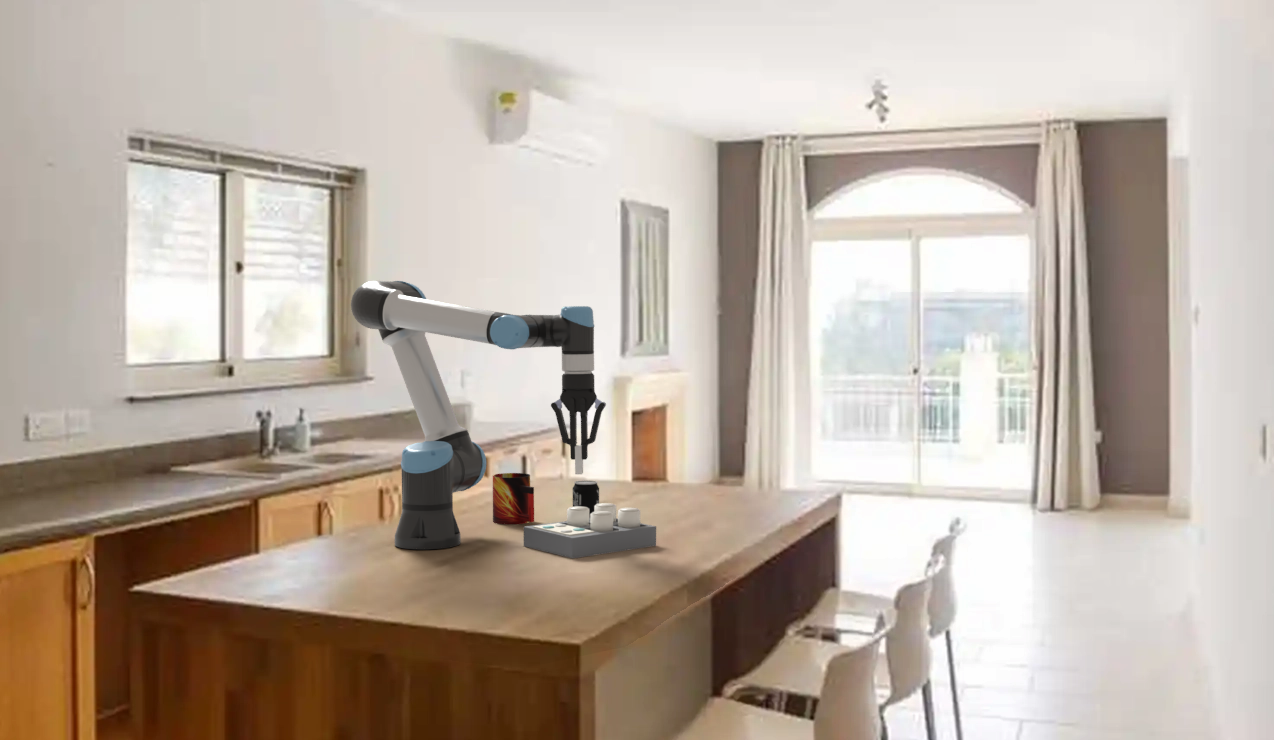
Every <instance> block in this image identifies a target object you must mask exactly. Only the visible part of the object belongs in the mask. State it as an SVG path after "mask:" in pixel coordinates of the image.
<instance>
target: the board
mask: <svg viewBox="0 0 1274 740" xmlns="http://www.w3.org/2000/svg"><path fill="white" fill-rule="evenodd" d="M656 546H657V526H656V525H651V524H647V523H641V522H640V527H635V528H628V529H627V528H622V527H618V517H616V522H613V531H606V532H595V531H591V530H590V518H589V525H588V526H581V527H573V526H569V525H567V520H566V521H564V520H563V521H557V522H551V523H549V522H548V523H540V524H534V525H526V526H523V547H525V548H530V549H533V550H538V551H540V552H541V551H542V552H544V553H546V552H547V553H550V554H553V555H558V556H561V557H565V558H569V559H578V558H585V557H590V556H591V557H592V556H598V555H605V554H611V553H616V552H623V551H629V550H637V549H645V548H649V547H656Z"/></svg>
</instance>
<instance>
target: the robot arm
mask: <svg viewBox="0 0 1274 740" xmlns="http://www.w3.org/2000/svg"><path fill="white" fill-rule="evenodd" d="M350 301H351V302H350V308H351V310H350V311H351V313H352V316H353V317H354V319H355V321H357V322H358V323H359V324H360V325H361V326H363V327H365V328H367V329H371V330H378V332H379V334H380V337H381V340H382V342H383V343H384V344H385V345H388V346H390V347H391V348H392V352H393V355H394V357H395V360H396V363H397V365H398V367H399V371H400V374H401V375H402V379H403V382H404V384H405V386H406V390H407V392H408V394H409V397H410V400H411V402H412V405H413V408H414V410H415V413H416V417H417V418H418V422H419V424H420V426H421V430H422V432H423V434H424V435H423V436H424V440H423V441H422V442H415V443H412V444H409V445H407V446H406V447H404V448H403V450H402V452H401V461H400V468H401V515H400V518H399V520H398V524H397V528H396V530H395V533H394V546H395V547H397V548H400V549H401V548H402V549H406V550H422V551H423V550H438V549H440V550H441V549H447V548H451V547H455V546H458V545H461V531H460V528H459V526H458V523H457V520H456V517H455V514H454V507H453V494H454V493H456V492H464V491H467V490H469V489H471V488H473V487H474V486H476V485H478V483H479V482H480V481H482V479H483V478H484V476H485V473H486V471H487V457H486V453H485V451H484V449H482V447H481V446H480V445H479V444H477V443H476V442H475V441H473V440H472V438H471V436H470V433H469V431H468V428H465V427H463V426H461V425H460V424H459V422H458V419H457V417H456V414H455V412H454V409H453V405H452V403H451V401H450V398H449V395H448V392H447V391H446V387H445V384H444V382H443V379H442V377H441V374H440V371H439V368H438V367H437V363H436V362H435V361H436V360H435V358H434V355H433V353H432V350H431V347H430V345H429V342H428V339H427V337H426V333H427V334H432V335H433V334H434V335H438V336H446V337H450V338H451V337H452V338H456V339H462V340H465V341H466V340H467V341H473V342H478V343H484V344H489V345H493V346H497V347H499V348H500V349H505V350H517V349H526V348H528V349H530V348H553V347H554V348H561V371H562V372H564V373H563V374H562V375H561V393H560V395H559V398H558V399H557V400H556V401H554V402H551V403H550V407H551V409H552V410H553V411H554V412H555V417H556V421H557V424H558V429H559V433H560V437H561V441H562V443H563V444H567V445H568V446H569V447H570V449H569V450H570V461H571V460H574V474H575V475H583V474H584V460H587V459H588V458H589V457H588V455H589V454H588V446H589V445H590V444H591V445H592V444H594V442H595V441H596V438H597V436H598V429H599V425H600V421H601V417H602V413H603V411H604V409H605V407H606V406H607V403H606V402H605V401H602V400H601V399H599V398H598V395H597V394H596V391H595V374H594V373H593V371H595V350H594V349H595V345H594V344H595V342H594V341H595V321H594V310H593V308H592V307H591V306H587V305H586V306H585V305H581V306H580V305H578V306H577V305H575V306H574V305H573V306H572V305H571V306H563V307H562V308H561V311H560V314H550V315H549V314H524V315H523V314H521V315H519V314H511V313H507V312H506V313H505V312H499V311H494V310H488V309H484V308H477V307H471V306H464V305H462V304H461V305H460V304H455V303H449V302H448V303H447V302H444V301H443V302H442V301H436V300H432V299H427V297H426V295H425V293H424V292H423V291H422V290H421V289H420V287H418V286H417V285H415V284H413V283H410V282H407V281H403V280H395V281H394V280H392V281H389V280H384V281H383V280H370V281H367V282H365V283H362V284H361V285H360V286H359V287H357V288H356V290H355V291H354V293H353V295H352V297H351V300H350ZM594 404H595V405H594ZM563 405H564V407H565V408H566V409H567V411H568V412H569V414H568V415H569V433H568V429H567V426H566V421H565V418H564V415H563V414H564V413H563V410H562V408H563ZM593 405H594V408H595V411H594V416H593V421H592V424H591V429H590V433H589V432H588V416H589V415H588V411H590V410H591V408H592V406H593ZM578 413H580V414H579V415H580V444H579V445H577V444H578V442H577V441H578V440H577V439H578V438H577V437H578V436H577V435H578V432H577V428H578V427H577V425H578V424H577V415H578ZM588 433H589V436H588Z"/></svg>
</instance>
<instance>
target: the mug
mask: <svg viewBox="0 0 1274 740" xmlns="http://www.w3.org/2000/svg"><path fill="white" fill-rule="evenodd" d="M492 522H494V523H493V524H496V523H497V524H498V525H508V526H509V525H524V524H528V523H534V522H535V487H533V486H531V474H529V473H524V472H505V473H504V472H503V473H495V474H493V475H492Z"/></svg>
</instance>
